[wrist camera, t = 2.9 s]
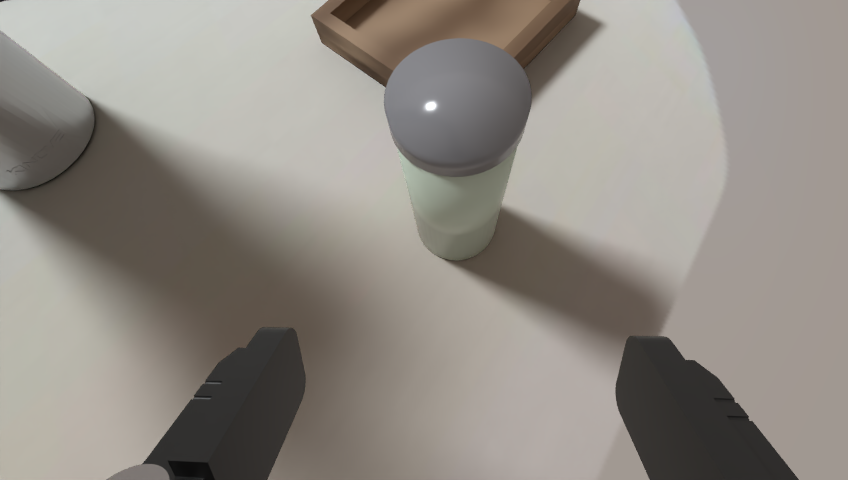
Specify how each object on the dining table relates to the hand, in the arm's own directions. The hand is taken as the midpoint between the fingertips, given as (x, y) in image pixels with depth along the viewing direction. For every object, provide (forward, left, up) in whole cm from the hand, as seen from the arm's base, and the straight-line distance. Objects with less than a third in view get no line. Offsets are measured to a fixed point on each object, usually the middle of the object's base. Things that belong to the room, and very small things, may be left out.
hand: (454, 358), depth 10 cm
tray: (-17, +19, -14) cm, 29 cm away
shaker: (-6, +7, -14) cm, 16 cm away
